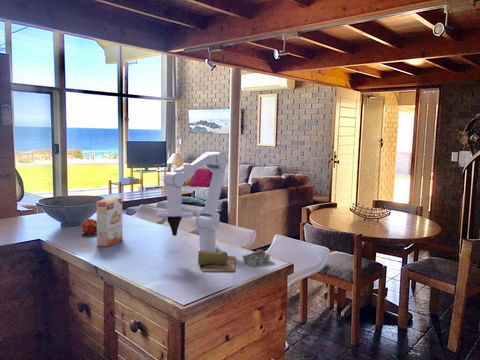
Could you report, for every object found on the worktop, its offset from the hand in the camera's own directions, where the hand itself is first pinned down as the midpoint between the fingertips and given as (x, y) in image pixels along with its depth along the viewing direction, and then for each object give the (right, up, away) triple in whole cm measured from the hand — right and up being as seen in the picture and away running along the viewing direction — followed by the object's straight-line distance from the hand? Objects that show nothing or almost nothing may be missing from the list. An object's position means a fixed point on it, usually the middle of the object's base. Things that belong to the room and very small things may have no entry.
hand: (174, 235), depth 157 cm
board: (+18, -11, -4) cm, 22 cm away
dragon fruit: (-51, -6, +45) cm, 68 cm away
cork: (+11, -8, -5) cm, 14 cm away
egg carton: (+33, -11, 0) cm, 35 cm away
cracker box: (-35, -8, +27) cm, 45 cm away
